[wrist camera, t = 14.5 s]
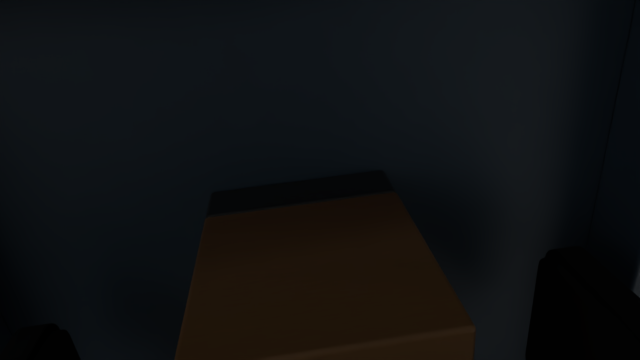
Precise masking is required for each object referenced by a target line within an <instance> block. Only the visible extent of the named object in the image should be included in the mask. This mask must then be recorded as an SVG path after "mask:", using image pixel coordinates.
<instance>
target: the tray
mask: <svg viewBox="0 0 640 360" xmlns="http://www.w3.org/2000/svg"><path fill="white" fill-rule="evenodd" d="M378 170H381V171H384V173H385V174H386V176H387V178H388V179H389V181H390V183H391V184H392V186H393V188H394V190H395V192H396V193H397V194H398V196H399V197H400V199H401V201H402V203H403V204H404V206H405V208H406V209H407V211H408V213H409V215H410V216H411V218H412V220H413V221H414V223H415V225H416V226H417V228H418V230H419V232H420V233H421V235H422V237H423V238H424V240H425V242H426V243H427V245H428V247H429V249H430V250H431V252H432V254H433V255H434V257H435V259H436V261H437V262H438V264H439V266H440V267H441V269H442V271H443V272H444V274H445V276H446V278H447V279H448V281H449V283H450V284H451V286H452V288H453V289H454V291H455V293H456V295H457V296H458V298H459V300H460V301H461V303H462V305H463V307H464V308H465V310H466V312H467V313H468V315H469V317H470V318H471V320H472V322H473V324H474V325H475V327H476V337H475V349H474V360H526V358H525V352H526V345H527V339H528V332H529V325H530V318H531V311H532V305H533V298H534V291H535V284H536V278H537V271H538V264H539V261H540V260H541V259H542V258H545V256H546V253H547V252H548V251H549V250H552V249H558V248H565V247H572V246H580V247H582V248H584V249H585V250H586V251H588V252H589V253H590V254H591V255H592V256H593V257H594V258H595V259H597V260H598V261H599V262H600V263H601V264H602V265H603V266H604V267H606V268H607V269H608V270H609V271H610V272H611V273H612V274H613V275H615V276H616V277H617V278H618V279H619V280H620V281H621V282H622V283H624V284H625V285H626V286H627V287H628V288H629V289H630V290H631V291H633V292H634V293H635V294H636V295H637V296H638V297H639V298H640V0H0V354H1V353H2V351H3V350H4V348H5V347H6V345H7V343H8V342H9V340H10V339H11V337H12V336H13V334H14V333H15V332H16V331H17V330H18V329H20V328H23V327H29V326H36V325H43V324H50V323H53V324H56V325H57V326H58V327H59V328H60V330H67V331H68V333H69V334H70V336H71V339H72V341H73V343H74V345H75V348H76V350H77V352H78V354H79V357H80V359H81V360H174V359H175V354H176V349H177V345H178V340H179V336H180V331H181V327H182V322H183V317H184V313H185V308H186V304H187V299H188V294H189V290H190V285H191V281H192V276H193V272H194V267H195V262H196V258H197V253H198V249H199V244H200V239H201V235H202V230H203V226H204V221H205V219H206V213H207V209H208V204H209V200H210V195H211V194H212V193H214V192H220V191H228V190H235V189H243V188H250V187H258V186H265V185H273V184H280V183H288V182H296V181H303V180H311V179H318V178H326V177H333V176H341V175H348V174H356V173H363V172H371V171H378Z"/></svg>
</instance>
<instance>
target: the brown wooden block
mask: <svg viewBox="0 0 640 360" xmlns="http://www.w3.org/2000/svg"><path fill="white" fill-rule="evenodd" d="M475 337H476V327H475V325H474V324H473V322H472V320H471V318H470V317H469V315H468V313H467V312H466V310H465V308H464V307H463V305H462V303H461V301H460V300H459V298H458V296H457V295H456V293H455V291H454V289H453V288H452V286H451V284H450V283H449V281H448V279H447V278H446V276H445V274H444V272H443V271H442V269H441V267H440V266H439V264H438V262H437V261H436V259H435V257H434V255H433V254H432V252H431V250H430V249H429V247H428V245H427V243H426V242H425V240H424V238H423V237H422V235H421V233H420V232H419V230H418V228H417V226H416V225H415V223H414V221H413V220H412V218H411V216H410V215H409V213H408V211H407V209H406V208H405V206H404V204H403V203H402V201H401V199H400V197H399V196H398V194H397V193H396V192H395V190H394V188H393V186H392V184H391V183H390V181H389V179H388V178H387V176H386V174H385V173H384V171H381V170H378V171H371V172H363V173H356V174H348V175H341V176H333V177H326V178H318V179H311V180H303V181H296V182H288V183H280V184H273V185H265V186H258V187H250V188H243V189H235V190H228V191H220V192H214V193H212V194H211V195H210V200H209V204H208V209H207V213H206V219H205V221H204V226H203V230H202V235H201V239H200V244H199V249H198V253H197V258H196V262H195V267H194V272H193V276H192V281H191V285H190V290H189V294H188V299H187V304H186V308H185V313H184V317H183V322H182V327H181V331H180V336H179V340H178V345H177V349H176V354H175V359H174V360H474V349H475Z"/></svg>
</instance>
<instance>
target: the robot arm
mask: <svg viewBox="0 0 640 360" xmlns="http://www.w3.org/2000/svg"><path fill="white" fill-rule="evenodd" d="M525 358H526V360H640V298H639V297H638V296H637V295H636V294H635V293H634V292H633V291H631V290H630V289H629V288H628V287H627V286H626V285H625V284H624V283H622V282H621V281H620V280H619V279H618V278H617V277H616V276H615V275H613V274H612V273H611V272H610V271H609V270H608V269H607V268H606V267H604V266H603V265H602V264H601V263H600V262H599V261H598V260H597V259H595V258H594V257H593V256H592V255H591V254H590V253H589V252H588V251H586V250H585V249H584V248H582V247H580V246H572V247H565V248H558V249H552V250H549V251H548V252H547V253H546V256H545V258H542V259H541V260H540V261H539V264H538V271H537V278H536V284H535V291H534V298H533V305H532V311H531V318H530V325H529V332H528V339H527V345H526V352H525ZM0 360H81V359H80V357H79V354H78V352H77V350H76V348H75V345H74V343H73V341H72V339H71V336H70V334H69V333H68V331H67V330H60V328H59V327H58V326H57V325H56V324H53V323H50V324H43V325H36V326H29V327H23V328H20V329H18V330H17V331H16V332H15V333H14V334H13V336H12V337H11V339H10V340H9V342H8V343H7V345H6V347H5V348H4V350H3V351H2V353H1V354H0Z"/></svg>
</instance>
